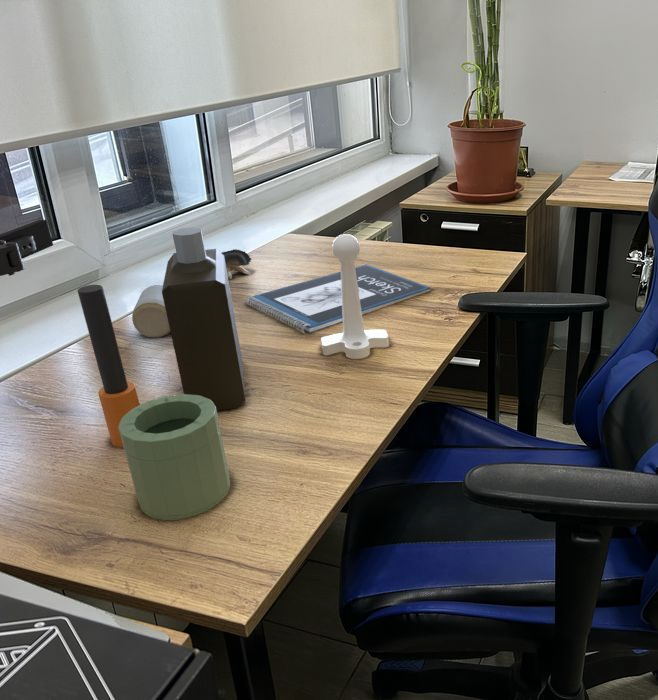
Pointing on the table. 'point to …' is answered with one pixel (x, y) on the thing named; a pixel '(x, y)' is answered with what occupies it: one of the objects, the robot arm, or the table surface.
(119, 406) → the brush
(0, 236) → the robot arm
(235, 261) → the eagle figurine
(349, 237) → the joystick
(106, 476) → the table surface
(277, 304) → the sketchbook
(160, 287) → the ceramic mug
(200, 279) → the bottle
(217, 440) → the sage green tumbler
